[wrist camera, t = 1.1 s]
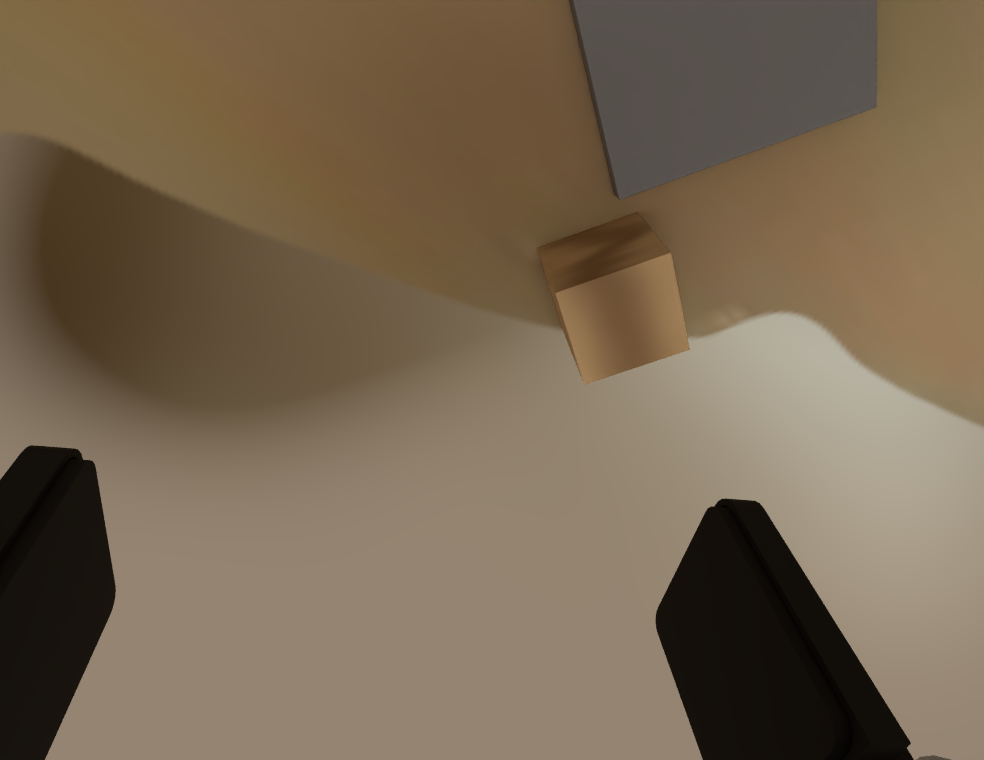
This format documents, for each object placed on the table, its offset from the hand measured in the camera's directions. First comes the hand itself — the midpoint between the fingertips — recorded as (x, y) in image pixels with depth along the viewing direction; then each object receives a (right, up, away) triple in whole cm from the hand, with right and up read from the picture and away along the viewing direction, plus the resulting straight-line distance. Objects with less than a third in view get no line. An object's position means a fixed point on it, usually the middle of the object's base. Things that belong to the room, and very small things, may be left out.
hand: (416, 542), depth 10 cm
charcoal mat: (+13, +20, +22) cm, 32 cm away
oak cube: (+8, +9, +29) cm, 31 cm away
